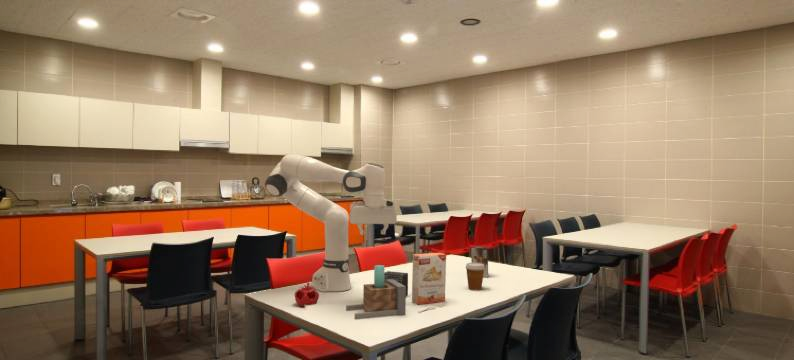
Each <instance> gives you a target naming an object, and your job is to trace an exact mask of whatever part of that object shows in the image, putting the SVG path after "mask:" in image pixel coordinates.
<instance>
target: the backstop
mask: <svg viewBox="0 0 794 360" xmlns="http://www.w3.org/2000/svg"><path fill="white" fill-rule="evenodd" d="M386 283H388V284H390V285H391V286H393V287H395V288H396V309H395V310H385V311H374V312H366V311H364V312H356V313H354V320H362V319H363V320H365V319H370V318H371V319H372V318H381V317H393V316H405V315H406V304H407V302H406V297H407V296H406V286H404V285H402V284H401V283H399V282H397V281H395V280H393V279H388V280H386ZM357 310H358V311H360V310H363V303H359V304H358V303H356V304H347V305H345V311H347V312H348V311H350V312H351V311H357Z"/></svg>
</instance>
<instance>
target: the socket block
mask: <svg viewBox="0 0 794 360" xmlns="http://www.w3.org/2000/svg"><path fill="white" fill-rule="evenodd" d="M362 297H363V299H362V300H363V301H362V304H363V309H362V310H363V311H364V312H374V311H385V310H395V309H396V288H395V287H393V286H391V285H390V284H388V283H384V288H377V289H374V283H368V284H363V295H362Z"/></svg>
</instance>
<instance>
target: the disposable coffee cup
mask: <svg viewBox="0 0 794 360" xmlns="http://www.w3.org/2000/svg"><path fill="white" fill-rule="evenodd" d="M465 269H466V280H467V286H468V287H467V289H468V290H469V291H470V290H471V291H481V290H482V288H483V280H484V277H483V274H484V269H485V267H484V264H482V263H471V262H467V263H466V264H465Z"/></svg>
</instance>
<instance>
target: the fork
mask: <svg viewBox="0 0 794 360" xmlns="http://www.w3.org/2000/svg"><path fill="white" fill-rule="evenodd" d="M446 304H447V302H446V301H443V302H439V303H438V304H437V305H435V306H434V307H431V306H429V307H427V308H424V309H421V310H419V311H417V313H418V314H421V313H423V312H424V311H427V310H429V309H434V310H436V309H437V308H439V309H440V308H443V307H444V306H445V305H446Z"/></svg>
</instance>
